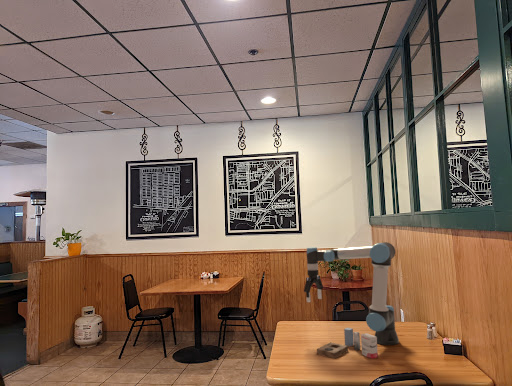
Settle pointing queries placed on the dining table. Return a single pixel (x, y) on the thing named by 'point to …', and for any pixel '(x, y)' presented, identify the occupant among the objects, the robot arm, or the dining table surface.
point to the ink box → (369, 345)
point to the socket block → (332, 350)
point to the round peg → (356, 340)
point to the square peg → (348, 336)
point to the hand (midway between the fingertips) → (314, 300)
